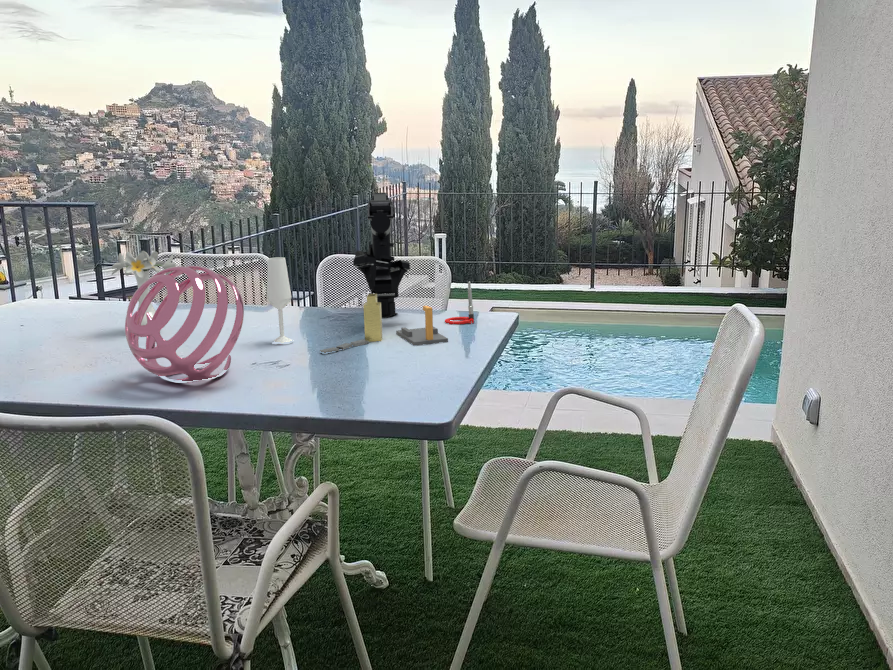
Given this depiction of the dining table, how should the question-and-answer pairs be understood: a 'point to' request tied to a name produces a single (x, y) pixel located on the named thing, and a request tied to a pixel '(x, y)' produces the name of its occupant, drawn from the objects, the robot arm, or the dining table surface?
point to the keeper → (423, 331)
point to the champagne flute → (278, 290)
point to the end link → (372, 319)
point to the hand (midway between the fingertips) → (383, 291)
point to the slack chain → (346, 346)
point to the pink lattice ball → (165, 314)
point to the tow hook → (471, 314)
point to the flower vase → (142, 272)
